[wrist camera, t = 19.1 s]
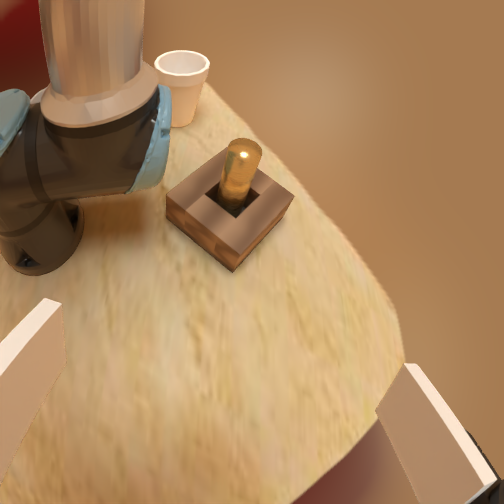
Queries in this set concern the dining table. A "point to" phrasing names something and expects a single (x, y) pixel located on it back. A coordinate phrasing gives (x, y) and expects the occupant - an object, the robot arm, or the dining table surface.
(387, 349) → the dining table surface
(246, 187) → the brass peg
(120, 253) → the dining table surface
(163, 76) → the foam cup
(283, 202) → the walnut socket block
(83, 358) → the dining table surface
